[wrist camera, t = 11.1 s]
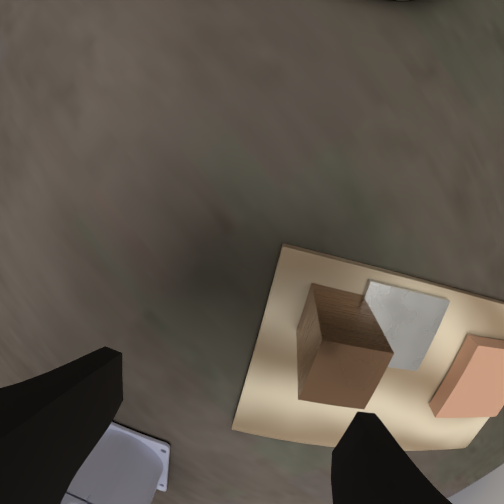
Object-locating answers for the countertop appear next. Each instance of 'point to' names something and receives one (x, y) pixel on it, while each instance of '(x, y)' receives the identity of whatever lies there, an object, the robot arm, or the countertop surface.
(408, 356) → the bookend
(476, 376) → the tile
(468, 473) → the countertop surface
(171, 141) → the countertop surface
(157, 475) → the robot arm
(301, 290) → the board
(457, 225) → the countertop surface
